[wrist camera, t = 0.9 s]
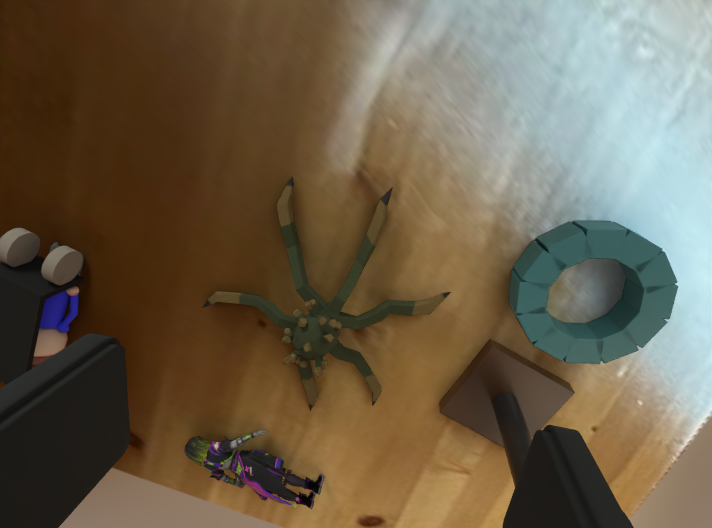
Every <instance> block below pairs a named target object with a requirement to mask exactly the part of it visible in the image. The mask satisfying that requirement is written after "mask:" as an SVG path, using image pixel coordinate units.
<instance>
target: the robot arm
mask: <svg viewBox="0 0 712 528" xmlns="http://www.w3.org/2000/svg"><path fill="white" fill-rule="evenodd" d="M129 441H130V426H129V410H128V394H127V377H126V361H125V350H124V348H123V346H121V345H120V343H119V341H118V339H116V338H114V337H109V336H104V335H99V334H94V333H89V334H87V335H84V336H83V337H81V338H80V339H78V340H76V341H75V342H73V343H72V344H70V345H69V346H67V347H65V348H64V349H62V350H61V351H59V352H57V353H56V354H54V355H53V356H51V357H50V358H48V359H46V360H45V361H43V362H42V363H40V364H39V365H37V366H35V367H34V368H32V369H31V370H29V371H27V372H26V373H24V374H23V375H21V376H20V377H18V378H16V379H15V380H13V381H12V382H10V383H8V384H7V385H5V386H4V387H2V388H1V389H0V528H58V527H59V526H60V525H61V524H62V523H63V522H64V521H65V519H66V518H67V517H68V516H69V515H70V514H71V513H72V512H73V511H74V509H75V508H76V507H77V506H78V505H79V504H80V503H81V501H82V500H83V499H84V498H85V497H86V496H87V495H88V494H89V493H90V491H91V490H92V489H93V488H94V487H95V486H96V485H97V483H98V482H99V481H100V480H101V479H102V478H103V477H104V476H105V474H106V473H107V472H108V471H109V470H110V469H111V468H112V467H113V465H114V464H115V463H116V462H117V461H118V460H119V459H120V458H121V456H122V455H123V454H124V453H125V451H126V449H127V447H128V445H129ZM503 528H633V526H632V524H631V522H630V520H629V519H628V518H627V516H626V515H625V513H624V512H623V511H622V510H621V508H620V506H619V504H618V502H617V501H616V499H615V497H614V495H613V493H612V491H611V489H610V488H609V486H608V484H607V482H606V480H605V478H604V477H603V475H602V473H601V471H600V469H599V467H598V465H597V464H596V462H595V460H594V458H593V456H592V454H591V453H590V451H589V449H588V447H587V445H586V443H585V442H584V440H583V438H582V436H581V434H580V433H579V432H578V431H576V430H573V429H568V428H563V427H558V426H553V425H547V426H546V427H545V428H544V430H543V431H542V430H537V431H536V432H535V434H534V437H533V439H532V442H531V445H530V448H529V451H528V453H527V456H526V459H525V462H524V465H523V467H522V470H521V473H520V476H519V479H518V482H517V484H516V487H515V490H514V493H513V496H512V498H511V501H510V504H509V507H508V510H507V512H506V515H505V518H504V522H503Z"/></svg>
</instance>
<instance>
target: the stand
mask: <svg viewBox="0 0 712 528" xmlns="http://www.w3.org/2000/svg"><path fill="white" fill-rule="evenodd" d="M574 393H575V392H574V391H573V389H572V387H571V386H570V384H569V383H568V382H566V381H564V380H562V379H561V378H559V377H557V376H555V375H553V374H552V373H550V372H548V371H546V370H545V369H543V368H541V367H539V366H537V365H536V364H534V363H532V362H530V361H529V360H527V359H525V358H523V357H522V356H520V355H518V354H516V353H514V352H513V351H511V350H509V349H507V348H506V347H504V346H502V345H500V344H499V343H497V342H495V341H493V340H491V339H490V340H489V341H488V342H487V344H486V345H485V346H484V347H483V349H482V350H481V351H480V352H479V354H478V355H477V356H476V358H475V359H474V360H473V361H472V363H471V364H470V365H469V366H468V368H467V369H466V370H465V371H464V373H463V374H462V375H461V376H460V378H459V379H458V380H457V381H456V383H455V384H454V385H453V386H452V388H451V389H450V390H449V391H448V393H447V394H446V395H445V397H444V398H443V399H442V400H441V402H440V403H439V406H440V413H442V414H444V415H446V416H447V417H449V418H451V419H453V420H455V421H456V422H458V423H460V424H462V425H464V426H465V427H467V428H469V429H471V430H473V431H475V432H476V433H478V434H480V435H482V436H484V437H485V438H487V439H489V440H491V441H493V442H495V443H496V444H498V445H500V446H502V447H504V448H505V452H506V456H507V459H508V463H509V467H510V470H511V474H512V477H513V481H514V485H515V487H516V484H517V482H518V479H519V476H520V473H521V470H522V467H523V465H524V462H525V459H526V456H527V453H528V451H529V448H530V445H531V442H532V437H533V436H534V434H535V432H536V431H537V430H540V429H541V428H542V427H543V426H544V425H545V424H546V423H547V422H548V420H549V419H550V418H551V417H552V416H553V415H554V414H555V413H556V412H557V411H558V410H559V409H560V408H561V407H562V406H563V405H564V404H565V403H566V402H567V401H568V399H569V398H570V397H571V396H572V395H573V394H574Z"/></svg>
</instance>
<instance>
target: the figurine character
mask: <svg viewBox="0 0 712 528" xmlns="http://www.w3.org/2000/svg"><path fill="white" fill-rule="evenodd" d="M39 248H40V239H39V237H38V236H37V235H36V234H34V233H32V232H29V231H27V230H25V229H23V228H15V229H12V230H10V231H8V232H7V233H5V234H4V235H3V236H2V237H1V239H0V261H1V263H0V381H1V382H3V383H5V384H8V383H10V382H12V381H13V380H15V379H16V378H18V377H20V376H21V375H23V374H24V373H26V372H27V371H29V370H31V368H32V365H39V364H40V363H42V362H43V361H45V360H46V359H48V358H50V357H51V356H53V355H54V354H56V353H57V352H59V351H61V350H62V349H64V348H65V347H66V345H67V341H68V337H67V333H66V332H68V331H69V323H70V322H71V321H72V320H73V319H74V318H75V317H76V316H77V315H78V293H79V288H78V287H77V286H76V285H78V284H80V283H83V277H81V276H80V274H81V270H82V266H83V262H84V257H83V254H82V253H80V252H78V251H76V250H74V249H72V248H70V247H68V246H59V245H58V243H57V242H56V243H54V244H53V245H51V248H50V252H49V255H48V256H47V257H46V259H44V258H42V257H39V256H37V253H38V251H39ZM69 297H70V313H69V314H68V315H67V316H66V318H65V319H64V317H65V313H66V309H67V305H68V301H69Z"/></svg>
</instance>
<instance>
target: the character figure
mask: <svg viewBox="0 0 712 528" xmlns="http://www.w3.org/2000/svg"><path fill="white" fill-rule="evenodd" d="M265 433H267V431H257V432H255V433H250V434H248V435H245V436H243V437H241V438H238V439H236V440H234V441H233V440H228V439H226V437H225V439H226V440H227V441H223V442H212V441H209V440H208V442H207V440H206V439H204V438H201V437H200V436H198V437H193V438H192V439H190V440H189V441H188V443H187V444H186V446H185V454H186V456H187V457H188V458H190V459H191V460H193V461H195V462H196V463H197V464H199V465H200V466H202V465H203V463H204V465H203V466H204V467H205V469H206V470H208V471H209V472H211V474H212V476H210V477H214V478H216V479H217V480H220V479H221V480H222V481H224V482H226V483H230V484H233V485H235V486H237V487H240V488H243V487H245V486H244V485H246V484H247V485H248V486H249V487H250V488H252V489H253V490H254V491H255V492H256V493H257V494H258V495H259V496H260V498H261V499H263V500H267V498H269V499H272V500H274V501H277V502H279V503H284V504H289V505H292V506H293V507H296V506H297V505H296V504H294V505H293V504H290V503H288V502H286V501H284V500H282V499H280V497H282V498H283V499H285V500H288V501H295V502H296V503H297V504H303V505H306V506H307V507H309V508H310V509H312V508H313V505H314V498H315V493H317V494H320V492H321V488H322V484H323V481H324V475H319V478H318V480H317V481H316V482H315V481H314V480H311V479H309V478H307V477H306V479H305V480H304V479H301V478H300V477H298V476H296V475H294V474H290V472H291V471H292V470H286V469H285V468H283V464H284V460H282V459H280V457H279V458H278V457H274V456H272V455H270V454H268V453H265V452H264V451H263V450H262V451H259V450H257V449H256V450H252V451H245V450H242V451H238V450H236V449H235V448H236V447H238V446H241V445H242V444H243V443H245V442H246V441H248V440H249V439H251V438H254V437H256V436H258V435H260V434H265ZM205 440H206V441H205ZM212 443H213V444H212ZM211 444H212V445H211ZM262 452H263V453H262ZM227 469H230V470H231V471H232V472H233V473H235V476H236V479H233V478H230V477H229V476H228V475H226V474H224V470H227ZM238 477H240V478H238ZM240 479H242V480H243V481H242V480H240ZM242 482H244V483H242ZM282 482H283V483H284V484H283V483H282ZM245 483H246V484H245ZM287 483H288V484H289V485H292V486H297V487H303V488H304V489H309V490H312V492H311V493H310V495H309V496H308V497H307V495H305V494H301V493H300V492H299V495H297V494H296V493H294V492H293V491H291V490H289V489H287V488H286V487H285V486H284V485H286V484H287ZM241 484H242V485H241ZM241 486H242V487H241ZM286 486H287V485H286ZM272 494H277V495H278V496H280V497H279V498H278V497H276V496H274V495H272Z"/></svg>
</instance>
